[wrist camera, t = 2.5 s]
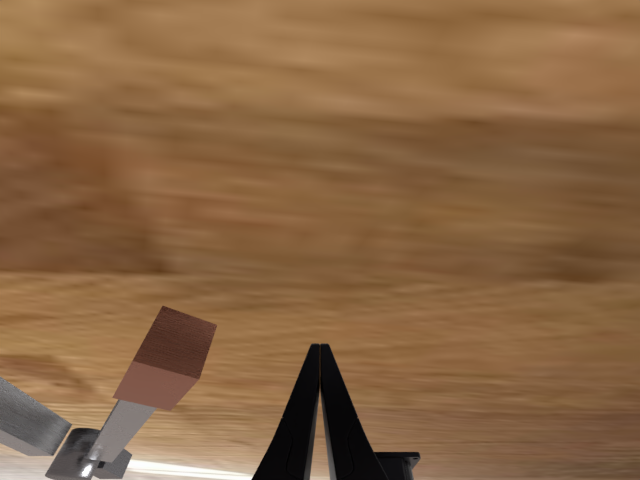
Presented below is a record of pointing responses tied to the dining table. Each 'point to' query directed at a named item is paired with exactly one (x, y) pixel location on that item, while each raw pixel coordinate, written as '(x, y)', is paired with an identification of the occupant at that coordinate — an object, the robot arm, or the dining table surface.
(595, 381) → the dining table surface
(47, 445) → the tongs fixed
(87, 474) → the tong arm
